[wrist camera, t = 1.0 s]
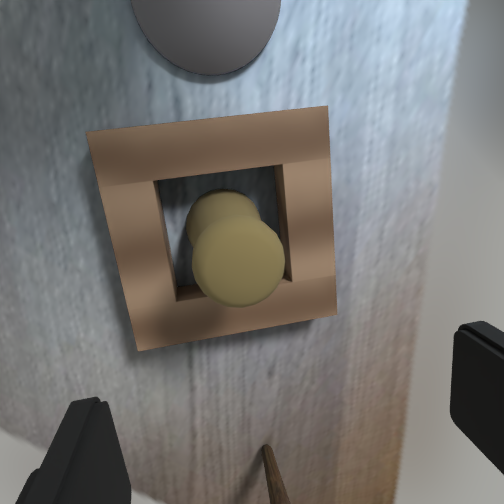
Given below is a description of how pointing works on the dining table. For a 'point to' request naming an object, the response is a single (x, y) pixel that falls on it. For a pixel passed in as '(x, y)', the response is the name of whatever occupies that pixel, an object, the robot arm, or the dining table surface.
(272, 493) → the decorative torch
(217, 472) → the dining table surface
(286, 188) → the square frame
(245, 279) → the cork
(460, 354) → the robot arm
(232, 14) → the coaster
